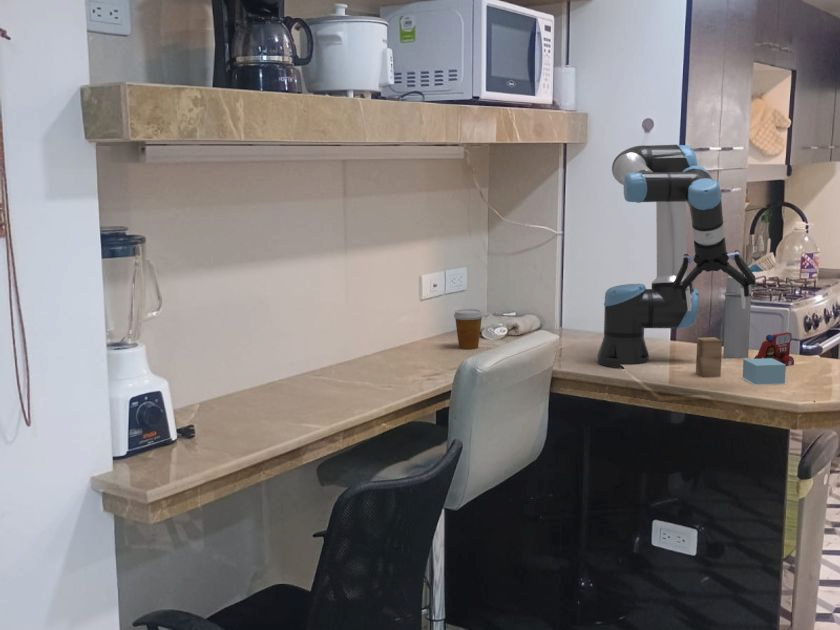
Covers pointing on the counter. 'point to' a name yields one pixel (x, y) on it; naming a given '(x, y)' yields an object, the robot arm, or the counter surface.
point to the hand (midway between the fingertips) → (716, 307)
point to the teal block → (764, 371)
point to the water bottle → (735, 321)
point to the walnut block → (708, 357)
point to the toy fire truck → (777, 348)
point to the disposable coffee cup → (468, 327)
